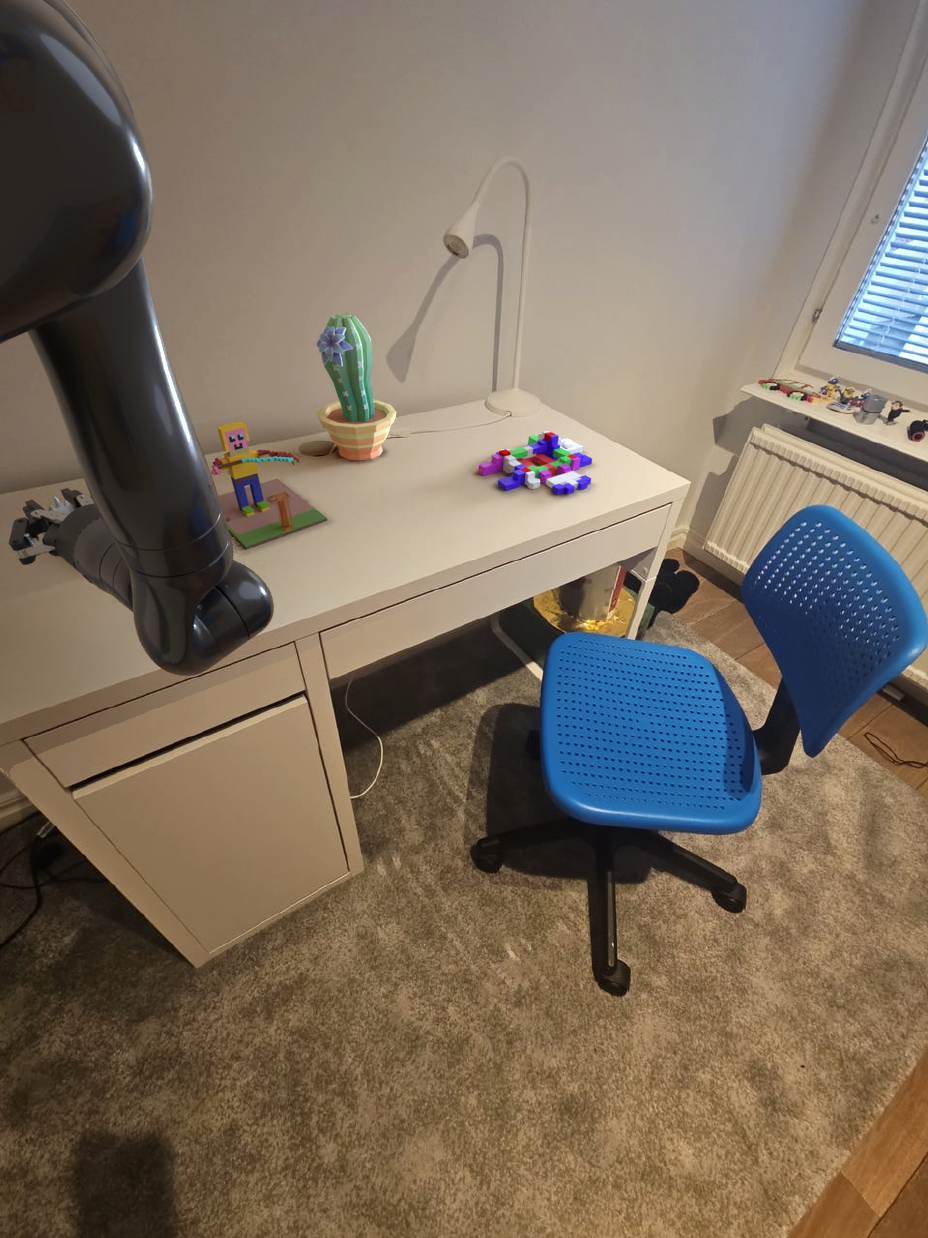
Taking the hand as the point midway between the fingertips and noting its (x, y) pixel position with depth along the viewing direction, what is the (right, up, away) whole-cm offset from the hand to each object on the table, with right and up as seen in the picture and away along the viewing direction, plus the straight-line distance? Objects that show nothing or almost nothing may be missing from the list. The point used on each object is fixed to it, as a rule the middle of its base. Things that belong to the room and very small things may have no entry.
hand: (50, 502), depth 62 cm
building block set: (+64, +16, +46) cm, 80 cm away
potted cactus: (+26, +21, +49) cm, 60 cm away
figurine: (+14, +5, +30) cm, 33 cm away
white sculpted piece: (+2, -6, +3) cm, 7 cm away
